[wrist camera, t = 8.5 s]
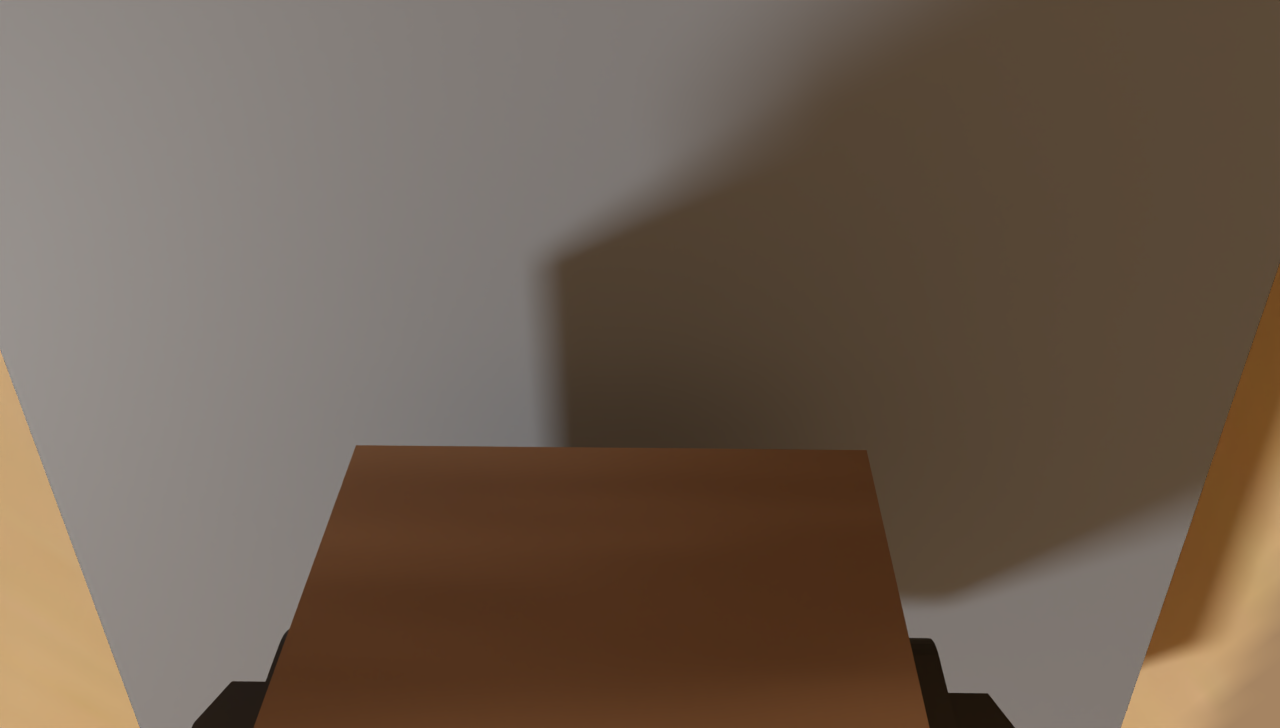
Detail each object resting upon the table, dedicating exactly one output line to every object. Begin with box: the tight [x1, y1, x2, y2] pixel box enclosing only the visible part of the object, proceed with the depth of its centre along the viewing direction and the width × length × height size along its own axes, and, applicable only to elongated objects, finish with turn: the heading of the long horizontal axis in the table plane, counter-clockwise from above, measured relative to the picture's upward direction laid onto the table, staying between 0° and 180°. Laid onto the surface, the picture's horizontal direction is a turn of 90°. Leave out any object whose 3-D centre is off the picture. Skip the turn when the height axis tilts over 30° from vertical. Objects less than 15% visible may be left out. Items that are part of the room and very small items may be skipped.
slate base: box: [0, 0, 1280, 728], centre depth 16 cm, size 14×14×3 cm
